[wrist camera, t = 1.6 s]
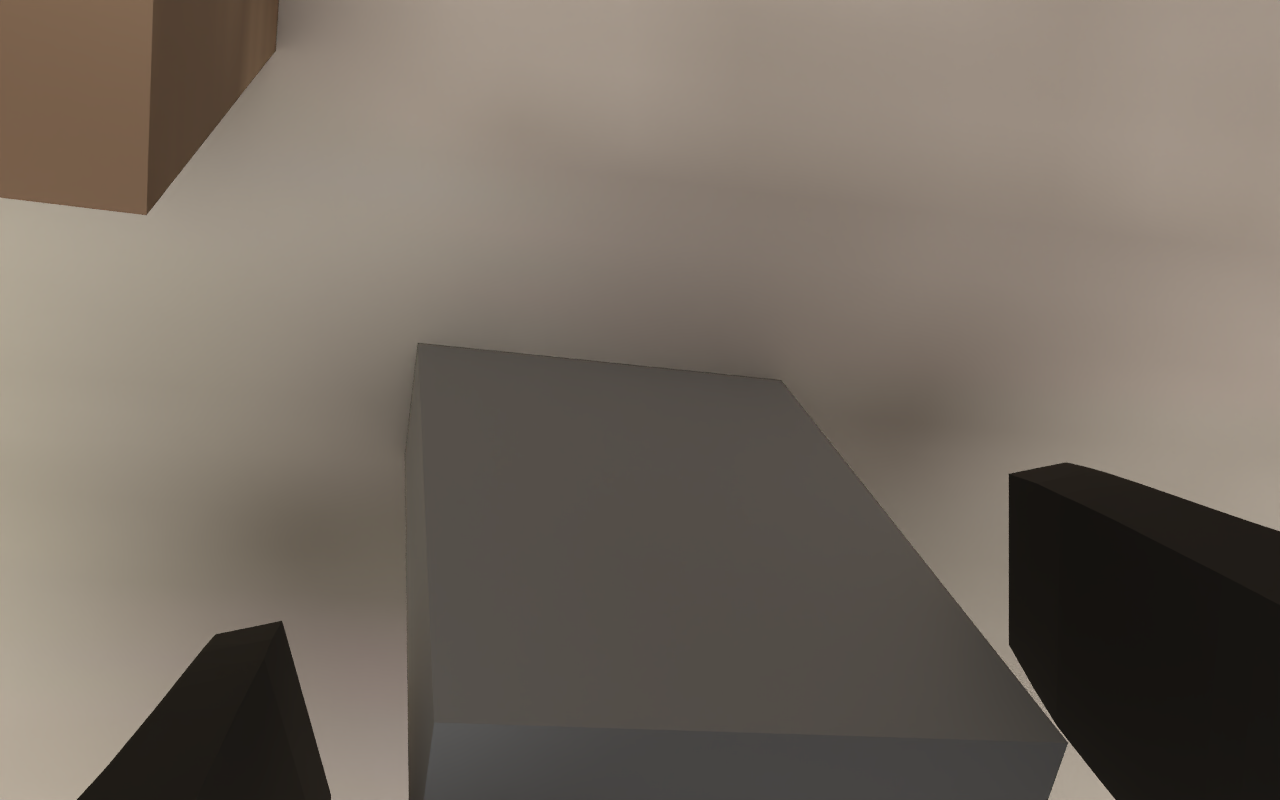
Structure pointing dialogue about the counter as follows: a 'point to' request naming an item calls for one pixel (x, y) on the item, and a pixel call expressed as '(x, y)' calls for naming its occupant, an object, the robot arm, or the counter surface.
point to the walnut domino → (119, 92)
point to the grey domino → (678, 603)
